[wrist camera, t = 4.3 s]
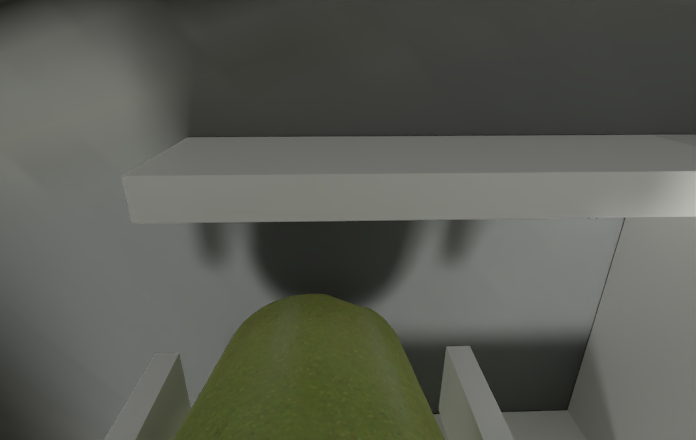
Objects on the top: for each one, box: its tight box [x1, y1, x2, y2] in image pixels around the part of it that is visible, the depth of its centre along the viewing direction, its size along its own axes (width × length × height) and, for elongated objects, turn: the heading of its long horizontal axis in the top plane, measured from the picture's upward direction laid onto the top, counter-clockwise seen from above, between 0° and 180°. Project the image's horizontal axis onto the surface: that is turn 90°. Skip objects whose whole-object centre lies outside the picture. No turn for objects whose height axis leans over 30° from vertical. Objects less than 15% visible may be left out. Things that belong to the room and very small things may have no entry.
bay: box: [121, 135, 696, 440], centre depth 13 cm, size 20×14×8 cm
